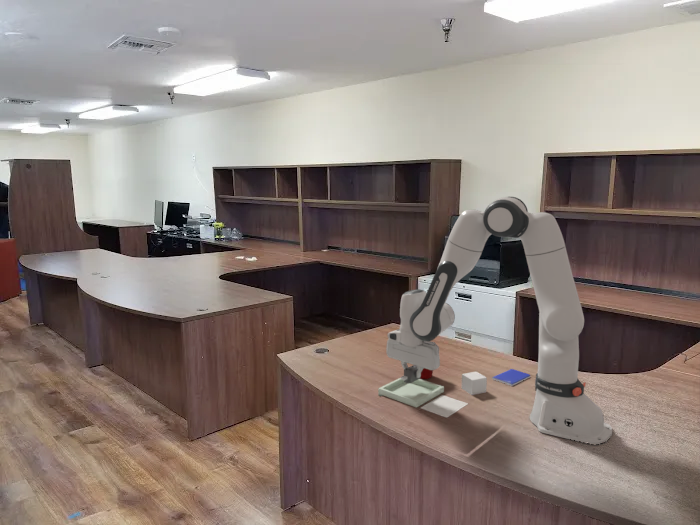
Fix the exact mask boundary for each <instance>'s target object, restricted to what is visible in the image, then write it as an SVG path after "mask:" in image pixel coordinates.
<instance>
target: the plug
mask: <svg viewBox="0 0 700 525" xmlns="http://www.w3.org/2000/svg"><path fill="white" fill-rule="evenodd" d="M416 371H418V369H417V366H416V365H413V364H412V365H411V366H408V368H406V369H403V375H401V376H400V378H401V380H404V382H405V383H412V382H414V381H416V380H418V379H420V378H416V377H414V372H416Z"/></svg>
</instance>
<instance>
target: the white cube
mask: <svg viewBox="0 0 700 525" xmlns="http://www.w3.org/2000/svg"><path fill="white" fill-rule="evenodd" d="M487 380H488V377H486V376H485V375H484V374H481V373H479V372H478V371H471V372H467V373H466V372H465V373H462V374H461V389H462V390H463V391H465V392H466V393H467V394H469V395H471V396H474V395H480V394H483V393H484V394H485V393H487Z"/></svg>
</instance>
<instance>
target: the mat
mask: <svg viewBox="0 0 700 525" xmlns="http://www.w3.org/2000/svg"><path fill="white" fill-rule="evenodd" d="M467 405H469V403H468V402H465V401H462V400H459V399H456V398H453V397H450V396H447V395H444V394H440V395H439V396H437V397H435V399H432V400H430V401H428V402H427V403H426V404H423V405H421V407H420V409H422V410H424V411H427V412H430V413H433V414H436V415H438V416H441V417H444V418H449V417H451V416H452V415H453V414H455V413H457V412H458V411H460V410H462V409H463V408H464V407H466V406H467Z"/></svg>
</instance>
